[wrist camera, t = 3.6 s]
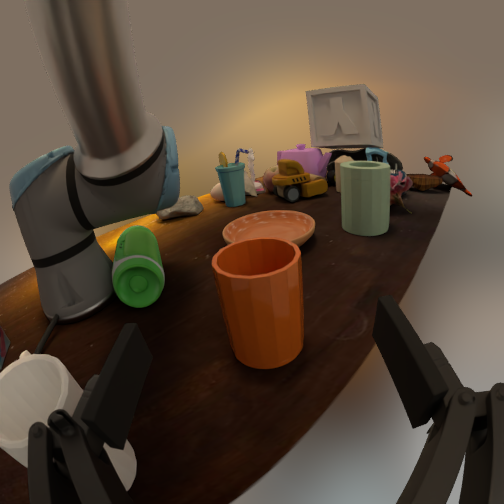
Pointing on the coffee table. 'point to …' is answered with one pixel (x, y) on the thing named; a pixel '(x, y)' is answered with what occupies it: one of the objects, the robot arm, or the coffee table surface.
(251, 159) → the figurine
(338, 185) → the candle
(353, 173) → the green jar
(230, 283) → the orange cup
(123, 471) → the mug
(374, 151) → the phone stand
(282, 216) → the saucer
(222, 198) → the egg
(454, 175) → the fish
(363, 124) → the decorative block
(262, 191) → the smartphone
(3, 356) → the juice carton
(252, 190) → the arrowhead
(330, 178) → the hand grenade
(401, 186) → the flower
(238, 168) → the cup
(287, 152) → the teapot
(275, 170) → the apple
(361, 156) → the running shoe
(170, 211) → the decorative stone
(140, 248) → the speaker
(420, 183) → the croissant
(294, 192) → the toy roller
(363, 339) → the coffee table surface
